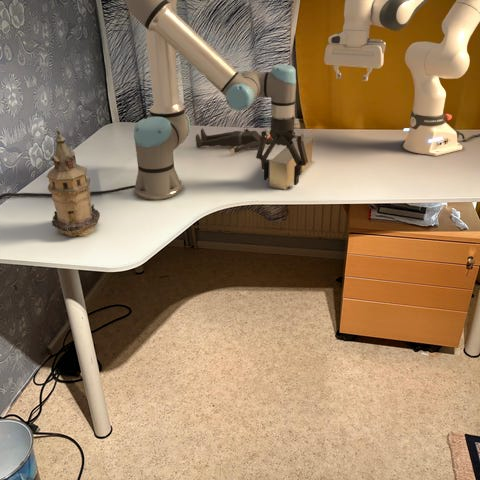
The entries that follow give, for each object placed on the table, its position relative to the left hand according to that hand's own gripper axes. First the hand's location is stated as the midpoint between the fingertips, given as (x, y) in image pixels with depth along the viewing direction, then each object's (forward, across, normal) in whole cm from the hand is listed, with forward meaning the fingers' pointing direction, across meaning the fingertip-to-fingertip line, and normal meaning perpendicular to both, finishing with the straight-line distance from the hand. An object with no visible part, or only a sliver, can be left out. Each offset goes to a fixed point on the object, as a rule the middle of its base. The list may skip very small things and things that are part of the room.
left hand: (281, 181), depth 181 cm
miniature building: (+1, +43, +53) cm, 68 cm away
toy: (+1, +31, -29) cm, 42 cm away
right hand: (-28, -13, -33) cm, 45 cm away
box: (+1, 0, -11) cm, 11 cm away
